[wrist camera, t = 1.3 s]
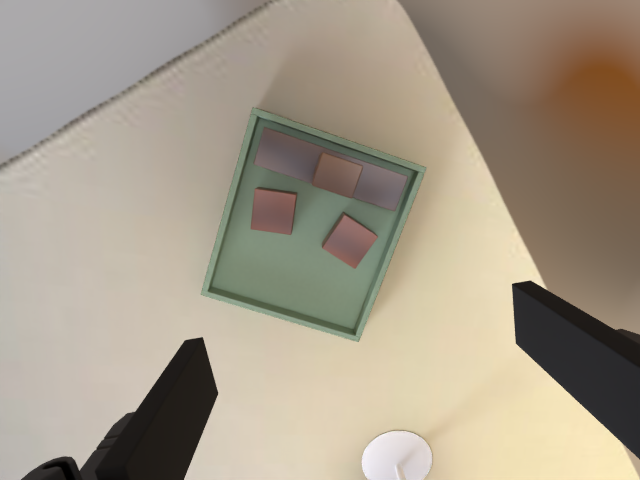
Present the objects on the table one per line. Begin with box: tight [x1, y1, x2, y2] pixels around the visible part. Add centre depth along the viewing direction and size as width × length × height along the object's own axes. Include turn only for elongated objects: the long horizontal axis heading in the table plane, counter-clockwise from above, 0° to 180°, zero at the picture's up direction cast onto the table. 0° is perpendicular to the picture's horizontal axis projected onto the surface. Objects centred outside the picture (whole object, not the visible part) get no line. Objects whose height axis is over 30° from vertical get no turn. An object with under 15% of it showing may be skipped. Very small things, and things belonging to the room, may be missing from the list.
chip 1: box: [250, 187, 297, 235], centre depth 36 cm, size 4×4×2 cm
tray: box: [201, 107, 426, 342], centre depth 37 cm, size 19×17×2 cm
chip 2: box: [322, 212, 378, 269], centre depth 37 cm, size 4×4×2 cm
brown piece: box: [253, 127, 408, 212], centre depth 31 cm, size 4×14×12 cm, turn 72°
